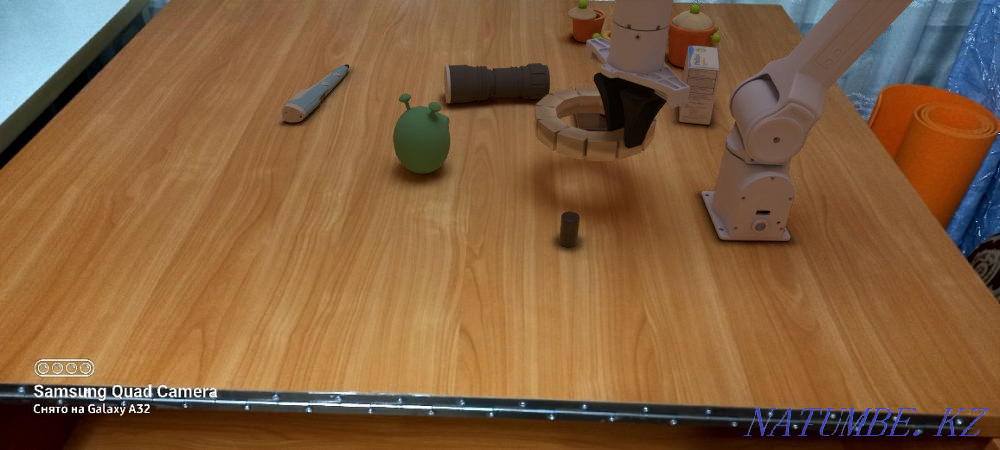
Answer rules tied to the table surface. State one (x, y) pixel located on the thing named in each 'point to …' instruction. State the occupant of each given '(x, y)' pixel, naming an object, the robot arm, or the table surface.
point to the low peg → (569, 229)
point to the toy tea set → (682, 31)
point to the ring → (576, 139)
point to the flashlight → (495, 82)
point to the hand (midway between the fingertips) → (624, 139)
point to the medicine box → (700, 84)
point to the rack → (591, 121)
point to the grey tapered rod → (312, 96)
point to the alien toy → (421, 137)
